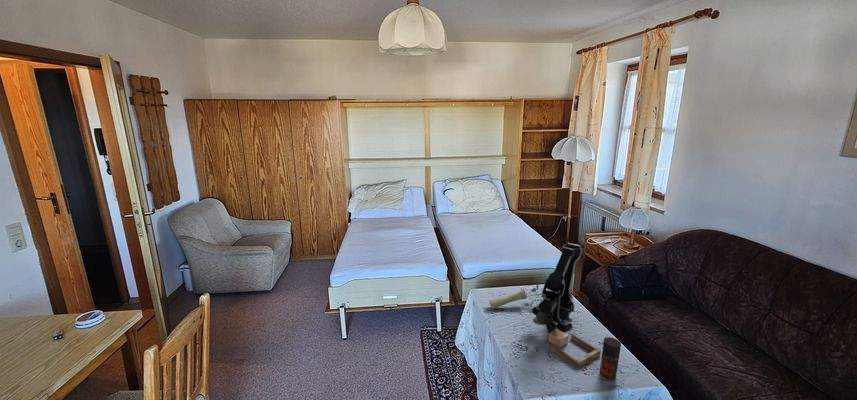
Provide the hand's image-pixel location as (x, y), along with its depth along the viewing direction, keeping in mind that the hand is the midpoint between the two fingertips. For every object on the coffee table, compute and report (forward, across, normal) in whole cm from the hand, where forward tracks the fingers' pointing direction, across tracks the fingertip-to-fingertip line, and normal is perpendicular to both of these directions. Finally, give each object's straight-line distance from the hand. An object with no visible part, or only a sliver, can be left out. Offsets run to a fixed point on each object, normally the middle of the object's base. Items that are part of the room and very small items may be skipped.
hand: (549, 334), depth 166 cm
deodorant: (+1, +29, 0) cm, 29 cm away
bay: (+1, +14, 0) cm, 14 cm away
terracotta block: (+1, +5, 0) cm, 5 cm away
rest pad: (+1, -11, +6) cm, 12 cm away
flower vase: (+1, -26, +8) cm, 27 cm away
